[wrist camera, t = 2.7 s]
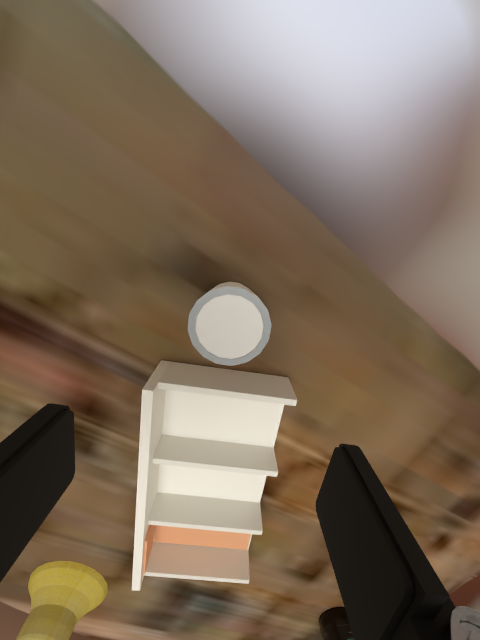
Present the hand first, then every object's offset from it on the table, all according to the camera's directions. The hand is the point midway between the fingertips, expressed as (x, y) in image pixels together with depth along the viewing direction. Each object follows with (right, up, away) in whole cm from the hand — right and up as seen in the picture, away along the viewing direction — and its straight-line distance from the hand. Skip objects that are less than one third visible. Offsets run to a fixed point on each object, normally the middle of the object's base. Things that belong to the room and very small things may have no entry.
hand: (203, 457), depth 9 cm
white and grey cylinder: (0, +6, +18) cm, 19 cm away
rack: (-3, -15, +24) cm, 28 cm away
